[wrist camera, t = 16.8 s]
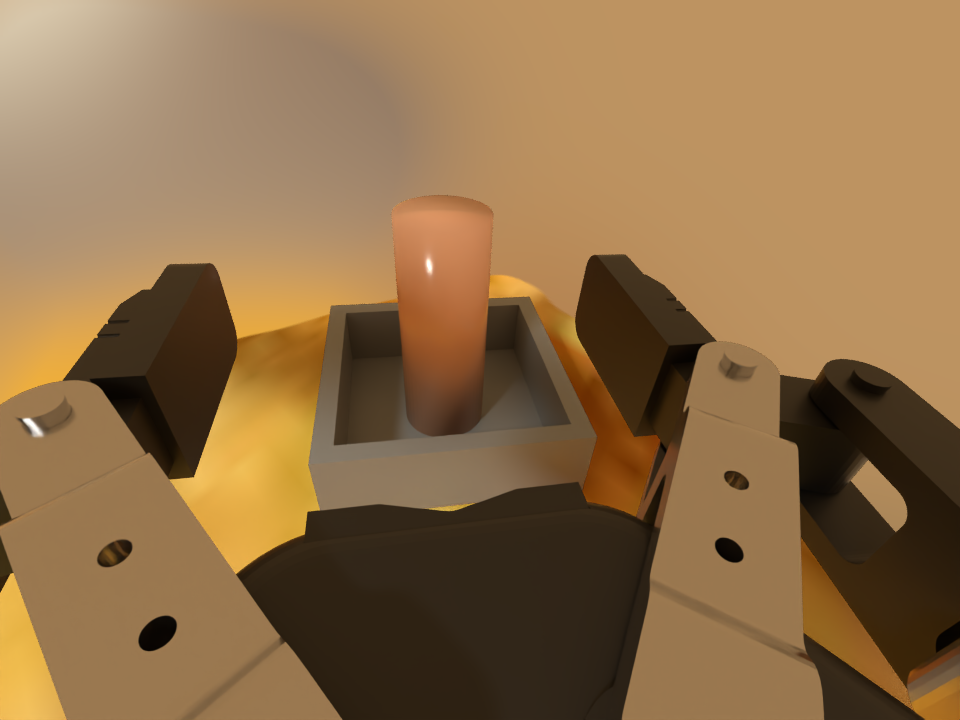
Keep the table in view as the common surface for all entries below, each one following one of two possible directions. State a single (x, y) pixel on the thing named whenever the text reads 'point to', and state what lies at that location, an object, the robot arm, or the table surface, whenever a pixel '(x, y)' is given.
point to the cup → (443, 308)
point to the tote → (452, 458)
